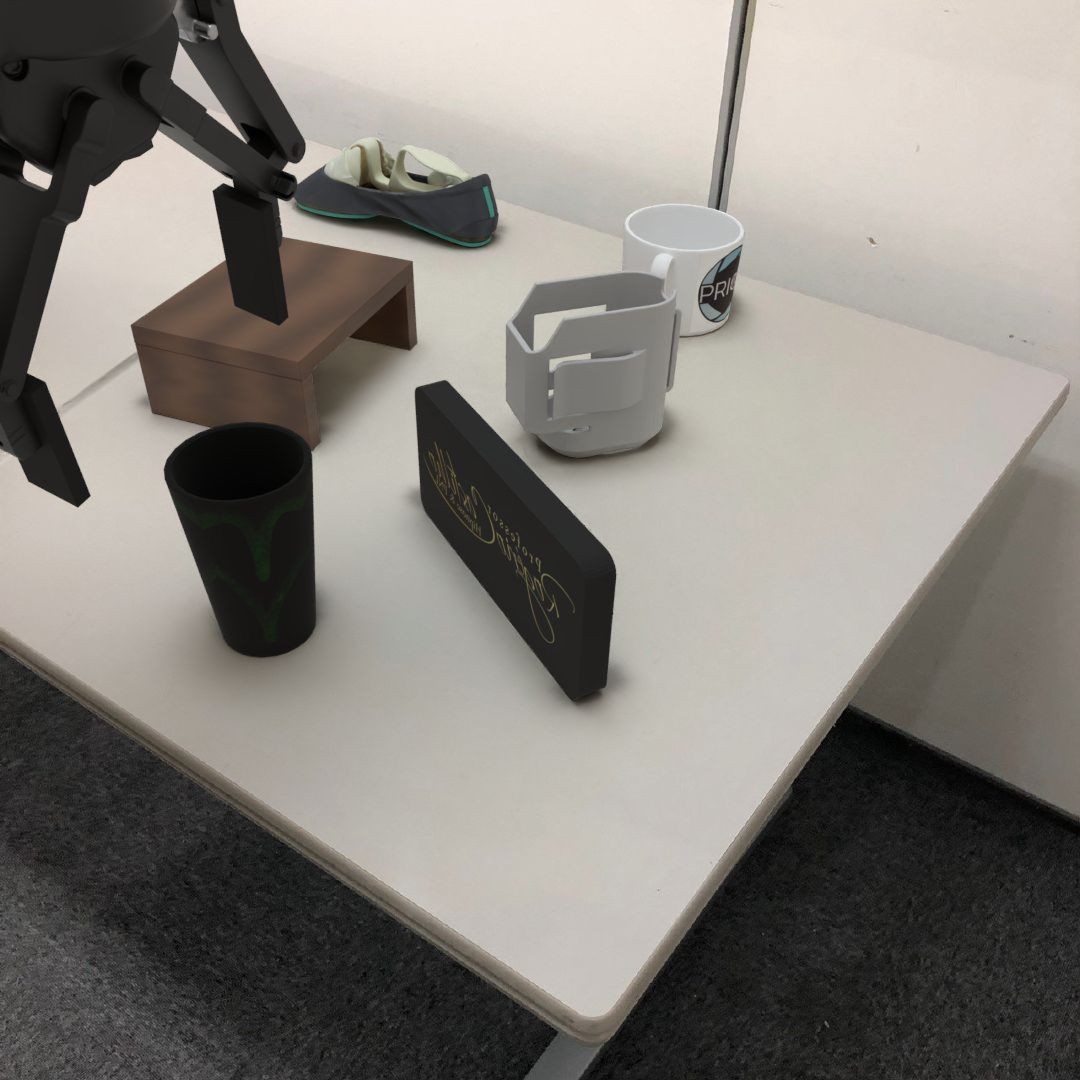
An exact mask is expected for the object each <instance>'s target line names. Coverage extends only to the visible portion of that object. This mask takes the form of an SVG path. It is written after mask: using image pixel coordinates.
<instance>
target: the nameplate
mask: <svg viewBox="0 0 1080 1080" xmlns="http://www.w3.org/2000/svg"><path fill="white" fill-rule="evenodd" d="M414 409H415V424H416V425H415V426H416V437H417V438H416V443H417V444H416V445H417V461H418V476H419V477H418V478H419V493H420V500H421V504H422V507H423V510H424V511H425V513H426V515H427V516H428V518H429V519H430V520H431V522H432V523H433V524H434V526H435V527H436V528H437V529H438V531H439V532H440V533H441V534H442V536H443V537H444V539H445V540H446V541H447V542H448V544H449V545H450V546H451V547H452V549H453V550H454V551H455V553H456V555H458V557H459V558H460V559H461V560H462V562H463V563H464V564H465V566H466V567H467V568H468V569H469V570H470V572H471V573H472V574H473V576H474V577H475V578H476V580H477V581H478V582H479V584H480V585H481V586H482V587H483V589H484V590H485V591H486V593H487V594H488V595H489V596H490V598H491V599H492V601H494V603H495V604H496V605H497V607H498V608H499V609H500V610H501V611H502V613H503V614H504V616H505V617H506V618H507V620H508V621H509V622H510V624H511V625H512V626H513V627H514V629H515V630H516V631H517V633H518V634H519V636H520V637H521V638H522V639H523V641H525V643H526V644H527V645H528V647H529V648H530V649H531V650H532V651H533V653H534V654H535V656H536V657H537V658H538V660H539V661H540V662H541V664H543V666H544V667H545V668H546V670H547V671H548V672H549V674H550V675H551V676H552V677H553V679H554V680H555V681H556V683H557V684H558V685H559V686H560V688H561V690H562V691H563V692H564V693H565V695H566V696H567V697H568V698H569V699H570V700H573V701H576V700H578V699H581V698H583V697H585V696H587V695H590V694H593V693H595V692H598V691H600V690H603V689H604V688H606V686H607V683H608V674H609V661H610V653H611V652H610V651H611V642H612V641H611V640H612V627H613V619H614V608H615V607H614V605H615V597H616V585H617V568H616V564H615V561H614V558H613V556H612V555H611V553H610V550H608V549H607V548H606V546H605V545H604V544H603V543H602V542H601V541H600V540H599V539H598V538H597V537H596V536H595V535H594V534H593V532H591V531H590V530H589V528H587V527H586V525H584V523H583V522H582V521H581V520H580V519H579V518H578V517H577V516H576V515H575V514H574V512H572V510H570V509H569V508H568V507H567V506H566V504H565V503H564V502H563V501H562V500H561V499H560V498H559V497H558V496H557V494H555V492H553V490H552V489H551V488H550V487H549V486H547V484H546V483H545V482H544V481H543V480H542V479H541V478H540V477H539V476H538V475H537V473H535V471H534V470H533V469H532V468H531V467H530V466H528V464H527V463H526V462H525V461H524V459H522V458H521V457H520V456H519V454H517V453H516V452H515V450H513V448H512V447H511V446H510V445H509V444H508V443H507V442H506V441H505V439H503V437H501V436H500V435H499V434H498V433H497V432H496V430H494V428H493V427H492V426H491V425H490V424H489V423H488V422H487V421H486V420H485V419H484V417H482V415H480V413H478V412H477V410H476V409H475V408H474V407H473V406H472V405H471V404H470V403H469V402H468V401H467V400H466V398H464V396H463V395H462V394H460V392H459V391H458V390H457V389H456V388H455V387H454V386H453V385H452V384H451V383H450V382H449V381H448V380H447V379H442V380H439V381H435V382H431V383H427V384H423V385H419V386H416V387H415V389H414Z"/></svg>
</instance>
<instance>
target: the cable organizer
mask: <svg viewBox="0 0 1080 1080" xmlns="http://www.w3.org/2000/svg"><path fill="white" fill-rule="evenodd" d="M664 282H665V278H664V277H662V276H660V275H657V274H654V273H650V272H644V271H633V270H627V271H622V270H618V271H617V270H616V271H610V272H602V273H596V274H595V273H594V274H588V275H580V276H574V277H573V276H572V277H566V278H559V279H550V280H545V281H536V282H535V283H534V284H533V285H532V287H531V289H530V290H529V292H528V294H527V295H526V296H525V298H524V300H523V302H522V303H521V304H520V307H519V308H518V310H517V311H516V312H515V313H514V314H513V315H512V316H511V317H510V318H509V319H508V321H507V322H506V323H505V401H506V403H507V405H508V406H509V408H510V410H511V412H512V413H513V415H514V416H515V418H516V419H517V421H518V423H519V425H520V426H521V428H522V429H523V431H524V432H526V433H529V434H533V435H534V434H535V435H537V437H538V438H539V440H541V441H542V442H543V443H544V444H546V445H547V446H548V447H549V448H551V449H552V450H553V451H555V452H556V453H558V454H560V455H562V456H565V457H569V458H576V459H577V458H579V459H581V458H582V459H583V458H589V457H595V456H598V455H603V454H608V453H612V452H618V451H622V450H623V451H624V450H629V449H633V448H638V447H640V446H642V445H644V444H645V443H647V442H648V441H649V440H651V439H652V438H653V437H655V436H656V435H657V434H658V433H660V431H661V430H662V427H663V422H664V421H663V420H664V412H665V403H666V395H667V393H669V392H670V391H672V389H673V388H674V384H675V378H676V377H675V376H676V367H677V359H678V352H679V351H678V350H679V342H680V336H679V335H680V326H681V318H682V311H681V309H680V308H679V307H678V306H677V305H676V297H677V290H676V289H673V290H672V295H671V297H670V298H668V297H667V296H666V294H665V292H664ZM600 306H605V311H601V312H600V311H599V312H594V313H593V312H592V313H588V314H581V315H573V316H566V317H563V318H562V319H561V321H560V322H559V323H558V326H556V328H555V330H554V332H553V333H552V334H551V335H550V337H549V339H548V340H547V342H546V343H545V345H544V346H542V347H541V348H539V349H537V350H535V349H534V348H535V346H534V345H535V316H536V315H545V314H552V313H557V312H564V311H571V310H578V309H587V308H592V307H593V308H594V307H600ZM587 354H590V358H587V359H586V358H585V359H572V360H570V359H569V360H564V361H561V362H559V363H558V364H557V365H555V366H554V369H550V365H551V364H550V361H551V360H556V359H562V358H569V357H575V356H580V355H587ZM550 391H553V393H552V394H551V395H549V392H550ZM585 427H586V428H587V427H588V430H575V429H581V428H585Z"/></svg>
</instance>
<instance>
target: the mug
mask: <svg viewBox="0 0 1080 1080" xmlns="http://www.w3.org/2000/svg"><path fill="white" fill-rule="evenodd" d="M742 224H743V223H741V222H740V221H739V220H738V219H737V218H736V217H734V216H732V215H730V214H729V213H727V212H724V211H722V210H719V209H715V208H713V207H707V206H703V205H698V204H689V203H664V204H663V203H662V204H653V205H650V206H645V207H641V208H640V209H637V210H635V211H633V212H632V213H631V214H629V215H628V216H627V217H626V218H625V220H624V223H623V226H622V228H623V229H622V259H621V262H622V263H621V267H622V268H621V271H627V270H633V271H644V272H650V273H654V274H657V275H660V276H662V277H664V278H665V282H664V292H665V294H666V296H667V297H668V298H670V297H671V295H672V290H673V289H676V290H677V297H676V305H677V306H678V307H679V308H680V309H681V311H682V318H681V326H680V335H679V337H693V336H701V335H705V334H708V333H711V332H714V331H716V330H717V329H720V328H721V327H723V326H724V325H725V323H726V322H727V321H728V320H729V316H730V311H731V306H732V301H733V296H734V290H735V285H736V281H737V275H738V270H739V266H740V261H741V256H742V250H743V245H744V240H745V236H746V231H745V229H744V226H743V225H742Z"/></svg>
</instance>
